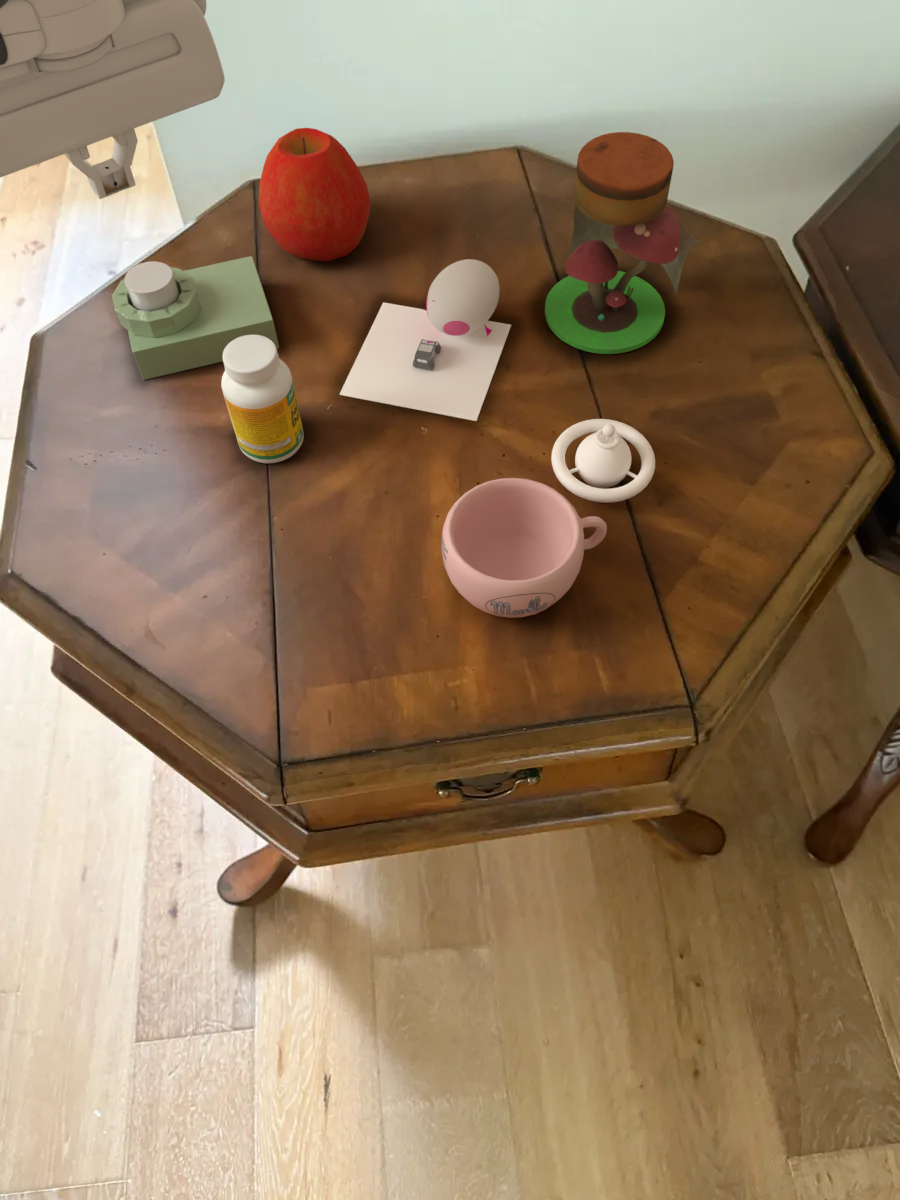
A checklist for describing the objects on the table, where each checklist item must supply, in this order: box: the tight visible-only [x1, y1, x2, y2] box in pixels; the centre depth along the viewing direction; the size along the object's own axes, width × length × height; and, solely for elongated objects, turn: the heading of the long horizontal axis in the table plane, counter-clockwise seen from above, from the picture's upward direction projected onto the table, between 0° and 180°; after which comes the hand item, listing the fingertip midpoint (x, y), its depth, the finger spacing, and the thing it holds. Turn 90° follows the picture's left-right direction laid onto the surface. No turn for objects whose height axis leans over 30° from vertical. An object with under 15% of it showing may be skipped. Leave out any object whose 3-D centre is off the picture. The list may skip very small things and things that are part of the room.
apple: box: [258, 127, 371, 262], centre depth 89 cm, size 10×10×10 cm
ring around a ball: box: [550, 418, 656, 504], centre depth 74 cm, size 8×6×8 cm
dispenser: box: [111, 255, 280, 381], centre depth 84 cm, size 12×9×5 cm
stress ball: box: [421, 257, 501, 337], centre depth 84 cm, size 8×8×7 cm
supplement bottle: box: [220, 335, 305, 464], centre depth 75 cm, size 5×5×10 cm
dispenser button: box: [124, 260, 179, 312], centre depth 81 cm, size 4×4×2 cm
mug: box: [440, 477, 608, 619], centre depth 69 cm, size 12×10×6 cm
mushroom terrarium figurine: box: [544, 131, 702, 355], centre depth 80 cm, size 12×13×15 cm
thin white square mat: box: [339, 302, 512, 422], centre depth 83 cm, size 12×12×2 cm
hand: (114, 189), depth 73 cm, fingers closed
